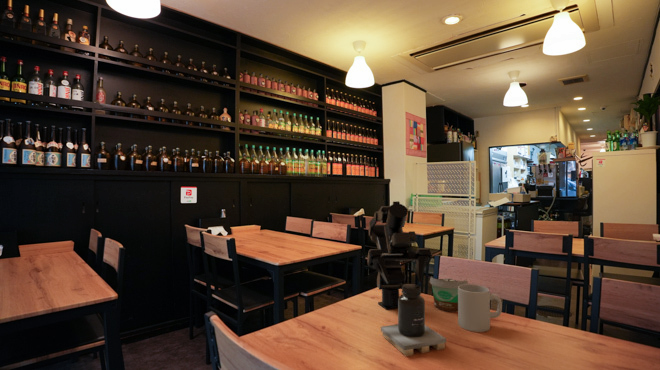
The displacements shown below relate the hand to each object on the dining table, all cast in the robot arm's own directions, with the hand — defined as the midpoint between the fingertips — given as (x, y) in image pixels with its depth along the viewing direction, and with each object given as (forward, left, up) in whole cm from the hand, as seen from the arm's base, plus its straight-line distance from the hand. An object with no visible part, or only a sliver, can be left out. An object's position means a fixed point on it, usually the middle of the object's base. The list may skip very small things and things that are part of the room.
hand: (404, 283), depth 95 cm
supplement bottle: (+7, -2, -11) cm, 13 cm away
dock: (+7, -2, -13) cm, 15 cm away
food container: (-9, +22, -14) cm, 27 cm away
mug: (+5, +22, -14) cm, 26 cm away
